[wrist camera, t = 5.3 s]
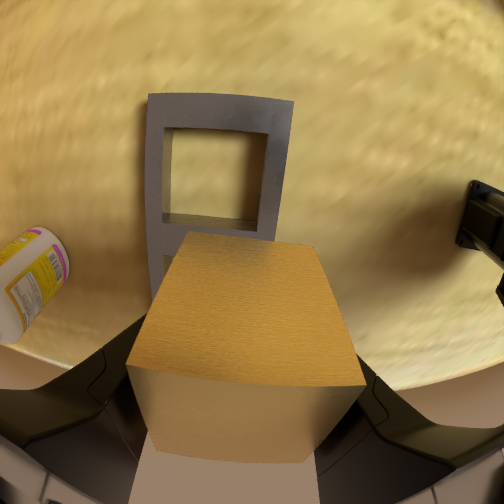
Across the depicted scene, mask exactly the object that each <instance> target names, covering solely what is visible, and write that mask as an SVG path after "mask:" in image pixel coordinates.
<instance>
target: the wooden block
mask: <svg viewBox="0 0 504 504" xmlns="http://www.w3.org/2000/svg"><path fill="white" fill-rule="evenodd" d="M126 367H127V371H128V374H129V377H130V381H131V384H132V387H133V390H134V393H135V396H136V399H137V402H138V405H139V408H140V411H141V413H142V416H143V419H144V421H145V424H146V427H147V429H148V432H149V434H150V437H151V439H152V441H153V444H154V446H155V449H156V450H157V451H161V452H166V453H172V454H177V455H183V456H189V457H196V458H202V459H210V460H220V461H232V462H246V463H301V462H304V461H305V460H306V459H307V458H308V457H309V455H311V453H312V452H313V451H314V450H315V449H316V448H317V447H318V446H319V445H320V444H321V442H322V441H323V440H324V439H325V438H326V437H327V436H328V434H329V433H330V432H331V431H332V430H333V429H334V427H335V426H336V425H337V424H338V422H339V421H340V420H341V419H342V417H343V416H344V415H345V414H346V412H347V411H348V410H349V408H350V407H351V406H352V405H353V403H354V402H355V401H356V399H357V398H358V396H359V395H360V394H361V392H362V391H363V389H364V388H365V387H366V385H367V384H366V381H365V378H364V375H363V372H362V369H361V367H360V364H359V361H358V358H357V355H356V352H355V350H354V347H353V344H352V341H351V339H350V336H349V333H348V331H347V328H346V325H345V323H344V320H343V317H342V315H341V312H340V310H339V307H338V305H337V302H336V300H335V297H334V294H333V292H332V290H331V287H330V285H329V282H328V280H327V277H326V275H325V272H324V270H323V268H322V265H321V263H320V261H319V258H318V256H317V254H316V251H315V249H314V247H310V246H303V245H296V244H288V243H280V242H273V241H265V240H258V239H250V238H242V237H234V236H226V235H218V234H210V233H202V232H194V231H188V232H187V234H186V236H185V238H184V240H183V242H182V244H181V246H180V248H179V250H178V252H177V254H176V256H175V257H174V259H173V261H172V263H171V265H170V267H169V269H168V271H167V273H166V276H165V278H164V280H163V282H162V284H161V286H160V288H159V290H158V292H157V294H156V296H155V298H154V301H153V303H152V305H151V307H150V309H149V311H148V314H147V316H146V318H145V320H144V322H143V325H142V327H141V329H140V331H139V334H138V336H137V338H136V341H135V343H134V345H133V348H132V350H131V352H130V355H129V357H128V359H127V362H126Z"/></svg>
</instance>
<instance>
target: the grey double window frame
mask: <svg viewBox="0 0 504 504" xmlns="http://www.w3.org/2000/svg"><path fill="white" fill-rule="evenodd" d="M293 106H294V101H287V100H280V99H273V98H265V97H256V96H245V95H233V94H215V93H153V94H148V104H147V118H146V137H145V221H146V240H147V255H148V267H149V278H150V287H151V296H152V303H153V301H154V298H155V296H156V294H157V292H158V290H159V288H160V286H161V284H162V282H163V280H164V278H165V276H166V273H167V271H168V269H169V267H170V265H171V256H176V254H177V252H178V250H179V248H180V246H181V244H182V242H183V240H184V238H185V236H186V234H187V232H188V231H194V232H202V233H210V234H218V235H226V236H234V237H242V238H250V239H258V240H265V241H273V242H274V239H275V233H276V227H277V220H278V213H279V207H280V200H281V193H282V186H283V180H284V173H285V165H286V158H287V151H288V144H289V136H290V129H291V121H292V114H293ZM173 127H185V128H209V129H225V130H237V131H248V132H258V133H266V134H267V141H266V149H265V158H264V166H263V174H262V182H261V190H260V198H259V207H258V215H257V221H249V220H240V219H230V218H219V217H209V216H198V215H186V214H174V213H170V181H171V153H172V135H173Z"/></svg>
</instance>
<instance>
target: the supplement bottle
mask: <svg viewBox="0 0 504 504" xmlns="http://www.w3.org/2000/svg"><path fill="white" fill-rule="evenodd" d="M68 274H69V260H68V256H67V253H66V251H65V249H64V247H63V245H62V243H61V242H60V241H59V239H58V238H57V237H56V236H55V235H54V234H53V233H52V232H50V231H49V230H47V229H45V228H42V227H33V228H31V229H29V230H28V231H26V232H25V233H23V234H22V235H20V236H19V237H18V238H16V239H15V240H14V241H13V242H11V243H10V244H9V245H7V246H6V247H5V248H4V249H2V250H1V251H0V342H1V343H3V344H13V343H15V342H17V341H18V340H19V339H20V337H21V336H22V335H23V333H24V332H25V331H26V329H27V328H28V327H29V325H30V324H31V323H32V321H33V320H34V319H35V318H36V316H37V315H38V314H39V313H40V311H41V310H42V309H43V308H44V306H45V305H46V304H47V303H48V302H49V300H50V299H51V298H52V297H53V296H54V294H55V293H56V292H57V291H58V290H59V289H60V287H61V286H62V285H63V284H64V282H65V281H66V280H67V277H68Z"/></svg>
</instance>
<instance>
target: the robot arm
mask: <svg viewBox="0 0 504 504" xmlns="http://www.w3.org/2000/svg"><path fill="white" fill-rule="evenodd" d="M476 186H477V187H476ZM460 240H461V241H460ZM455 243H456V245H458V246H459V247H463V248H468V249H474V250H479V251H482V252H483V253H485V254H486V255H487V256H488V257H489V258H490V259H492V260H493V261H494V262H495V263H496V264H497V265H498V266H500V267H501V268H502V269H503V270H504V192H502V191H500V190H498V189H496V188H494V187H491V186H489V185H487V184H485V183H483V182H480V181H478V180H474V181H473V183H472V187H471V191H470V195H469V198H468V202H467V206H466V209H465V213H464V216H463V219H462V222H461V225H460V229H459V232H458V234H457V237H456V241H455ZM495 292H496V294H497V295H498V297H499V299H500V301H501V303H502V305H503V307H504V273H503V275H502V278H501V281H500V283H499V285H498V286H497V288H496V291H495ZM147 314H148V313H146V314H145V315H144V316H142V317H141V318H140V319H138V320H137V321H136V322H134V323H133V324H132V325H130V326H129V327H128V328H127V329H125V330H124V331H123V332H121V333H120V334H119V335H117V336H116V337H115V338H113V339H112V340H111V341H109V342H108V343H107V344H106V345H104V346H103V347H102V348H100V349H99V350H98V351H96V352H95V353H94V354H92V355H91V356H90V357H88V358H87V359H85V360H84V361H83V362H81V363H80V364H78V365H76V366H75V367H73V368H72V369H70V370H68V371H67V372H65V373H63V374H62V375H61V376H59V377H57V378H55V379H54V380H52V381H51V382H49V383H47V384H45V385H43V386H41V387H39V388H36V389H33V390H10V389H0V504H128V501H129V497H130V493H131V490H132V486H133V482H134V478H135V474H136V470H137V467H138V462H139V459H140V456H141V453H142V449H143V446H144V442H145V439H146V435H147V432H148V429H147V427H146V424H145V421H144V419H143V416H142V413H141V411H140V408H139V405H138V402H137V399H136V396H135V393H134V390H133V387H132V384H131V381H130V377H129V374H128V371H127V367H126V362H127V359H128V357H129V355H130V352H131V350H132V348H133V345H134V343H135V341H136V338H137V336H138V334H139V331H140V329H141V327H142V325H143V322H144V320H145V318H146V316H147ZM356 355H357V354H356ZM357 358H358V361H359V364H360V367H361V369H362V372H363V375H364V378H365V381H366V384H367V385H366V387H365V388H364V389H363V391H362V392H361V394H360V395H359V396H358V398H357V399H356V401H355V402H354V403H353V405H352V406H351V407H350V408H349V410H348V411H347V412H346V414H345V415H344V416H343V417H342V419H341V420H340V421H339V422H338V424H337V425H336V426H335V427H334V429H333V430H332V431H331V432H330V433H329V434H328V436H327V437H326V438H325V439H324V440H323V441H322V442H321V444H320V445H319V446H318V447H317V448H316V449H315V450H314V456H315V463H316V472H317V481H318V490H319V498H320V504H504V455H503V453H502V450H501V449H502V448H504V424H503V425H501V426H498V427H496V428H487V429H486V428H485V429H484V428H467V427H455V426H445V425H440V424H436V423H434V422H432V421H430V420H428V419H427V418H425V417H424V416H423V415H422V414H421V413H419V412H418V411H417V410H416V409H414V408H413V407H412V406H411V405H410V404H408V403H407V402H406V401H405V400H403V399H402V398H401V397H400V396H399V395H398V394H397V393H395V392H394V391H393V390H392V389H391V388H390V387H389V386H388V385H387V384H386V383H385V382H384V381H383V380H382V379H381V378H380V377H379V376H376V375H377V374H376V373H375V372H374V371H373V370H372V369H371V368H370V367H369V366H368V365H367V364H366V363H365V362H364V361H363V360H362V359H361V358H360V357H359V356H358V355H357Z"/></svg>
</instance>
